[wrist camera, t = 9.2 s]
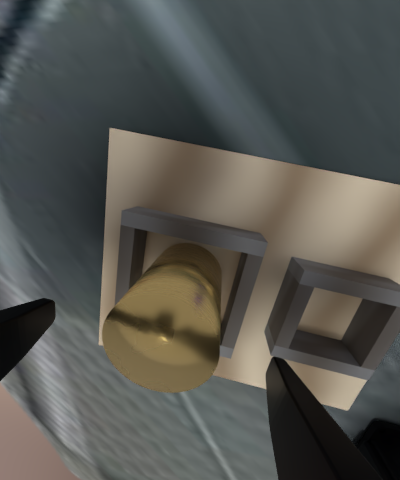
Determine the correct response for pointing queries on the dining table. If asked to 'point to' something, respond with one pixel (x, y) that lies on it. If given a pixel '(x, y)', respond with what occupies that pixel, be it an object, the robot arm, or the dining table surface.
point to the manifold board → (264, 255)
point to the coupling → (169, 322)
